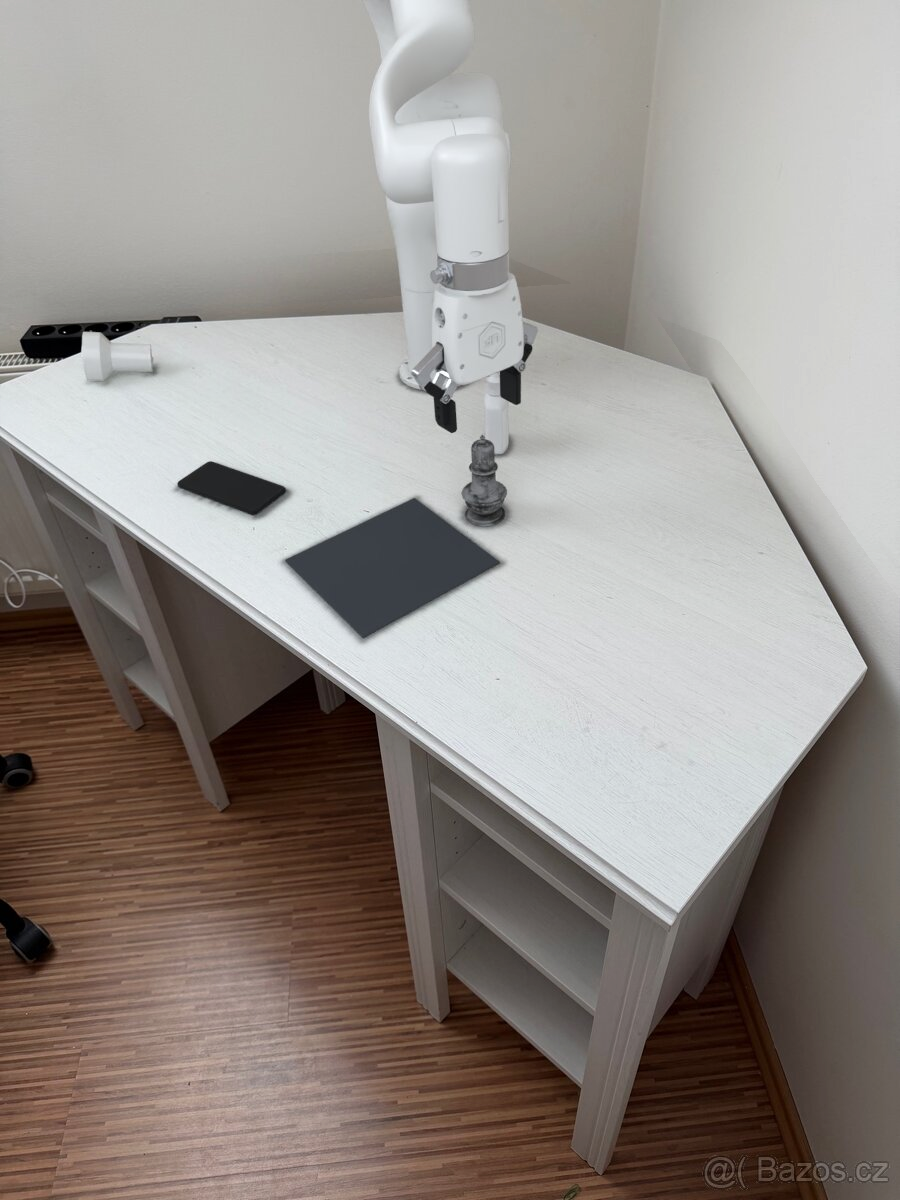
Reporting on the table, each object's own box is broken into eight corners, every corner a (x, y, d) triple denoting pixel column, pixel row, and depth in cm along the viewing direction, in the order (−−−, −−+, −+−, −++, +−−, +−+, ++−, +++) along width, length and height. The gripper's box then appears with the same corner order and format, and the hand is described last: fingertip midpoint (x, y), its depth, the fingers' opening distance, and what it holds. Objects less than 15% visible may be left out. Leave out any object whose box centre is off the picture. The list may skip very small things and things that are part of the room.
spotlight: (86, 361, 147) (80, 321, 141) (154, 363, 150) (151, 324, 144) (84, 390, 142) (77, 349, 136) (154, 391, 145) (150, 352, 139)
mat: (414, 499, 113) (414, 497, 113) (499, 563, 102) (499, 561, 102) (285, 561, 104) (284, 559, 104) (362, 638, 93) (362, 636, 93)
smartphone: (209, 459, 122) (287, 486, 115) (210, 464, 122) (288, 491, 116) (174, 483, 117) (253, 512, 111) (176, 488, 118) (255, 517, 111)
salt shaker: (503, 529, 107) (502, 449, 99) (458, 526, 108) (454, 446, 100) (510, 503, 111) (509, 423, 103) (467, 500, 112) (463, 421, 104)
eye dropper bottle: (519, 440, 122) (519, 364, 114) (498, 458, 119) (497, 381, 111) (494, 432, 124) (493, 357, 116) (473, 450, 121) (470, 374, 113)
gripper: (428, 301, 82) (439, 452, 93) (558, 256, 89) (554, 401, 101) (386, 281, 87) (401, 427, 98) (513, 240, 94) (514, 380, 105)
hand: (479, 414), depth 99 cm, fingers open, 9 cm apart
